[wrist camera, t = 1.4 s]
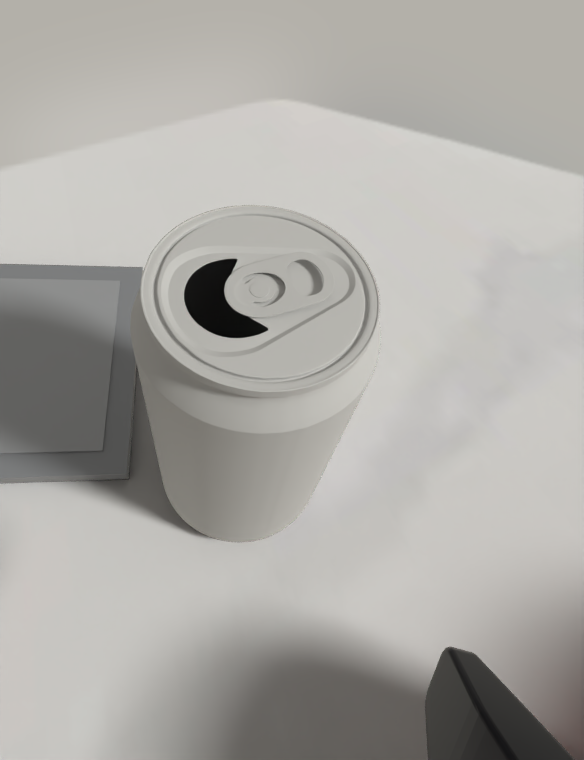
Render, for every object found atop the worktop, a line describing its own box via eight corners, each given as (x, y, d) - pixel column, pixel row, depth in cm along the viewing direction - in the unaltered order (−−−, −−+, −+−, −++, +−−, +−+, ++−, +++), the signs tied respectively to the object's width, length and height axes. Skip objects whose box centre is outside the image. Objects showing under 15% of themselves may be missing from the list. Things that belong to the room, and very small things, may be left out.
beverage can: (146, 428, 23) (93, 213, 13) (283, 389, 25) (332, 175, 15) (187, 571, 20) (161, 444, 10) (338, 515, 22) (445, 360, 12)
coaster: (128, 479, 22) (126, 472, 21) (-172, 489, 20) (-184, 482, 19) (143, 275, 27) (142, 266, 27) (-91, 270, 26) (-98, 260, 25)
